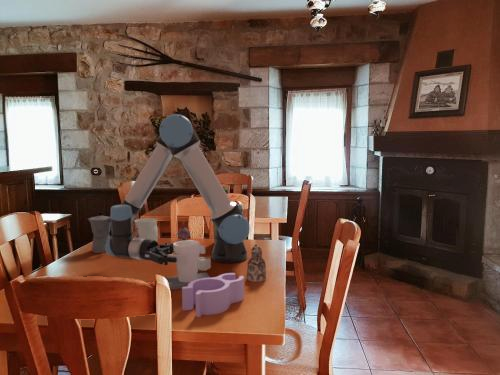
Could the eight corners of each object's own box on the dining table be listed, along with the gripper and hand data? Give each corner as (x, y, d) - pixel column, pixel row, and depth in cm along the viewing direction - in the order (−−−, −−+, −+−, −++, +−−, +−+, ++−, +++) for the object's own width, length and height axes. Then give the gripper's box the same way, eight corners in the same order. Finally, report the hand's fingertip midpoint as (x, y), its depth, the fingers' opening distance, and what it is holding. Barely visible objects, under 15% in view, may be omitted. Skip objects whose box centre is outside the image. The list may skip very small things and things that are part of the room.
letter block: (202, 266, 161) (202, 256, 160) (210, 268, 159) (210, 258, 158) (196, 269, 157) (196, 259, 157) (204, 271, 155) (204, 260, 155)
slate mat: (206, 275, 150) (206, 272, 150) (213, 284, 141) (213, 281, 141) (163, 280, 145) (163, 278, 144) (167, 290, 135) (167, 287, 135)
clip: (226, 290, 136) (226, 270, 135) (252, 300, 127) (252, 279, 126) (176, 307, 122) (176, 285, 121) (203, 320, 113) (202, 296, 112)
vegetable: (177, 242, 198) (177, 222, 197) (177, 239, 204) (177, 220, 203) (190, 242, 199) (189, 222, 198) (189, 239, 205) (189, 219, 204)
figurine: (245, 281, 143) (245, 248, 142) (247, 274, 150) (247, 243, 149) (265, 281, 143) (266, 248, 142) (266, 275, 150) (266, 243, 149)
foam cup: (196, 284, 137) (195, 247, 136) (170, 283, 139) (169, 246, 138) (204, 275, 146) (203, 240, 145) (180, 274, 148) (179, 239, 147)
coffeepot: (83, 252, 181) (81, 213, 179) (95, 247, 191) (93, 209, 189) (114, 254, 178) (112, 214, 176) (125, 248, 188) (123, 210, 185)
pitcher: (150, 241, 200) (150, 214, 199) (164, 249, 185) (163, 220, 184) (128, 244, 194) (127, 216, 193) (140, 253, 179) (139, 223, 178)
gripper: (163, 250, 160) (211, 255, 152) (122, 269, 137) (177, 276, 129) (162, 232, 159) (211, 236, 152) (121, 247, 136) (176, 253, 128)
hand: (195, 254), depth 140 cm, fingers open, 13 cm apart
